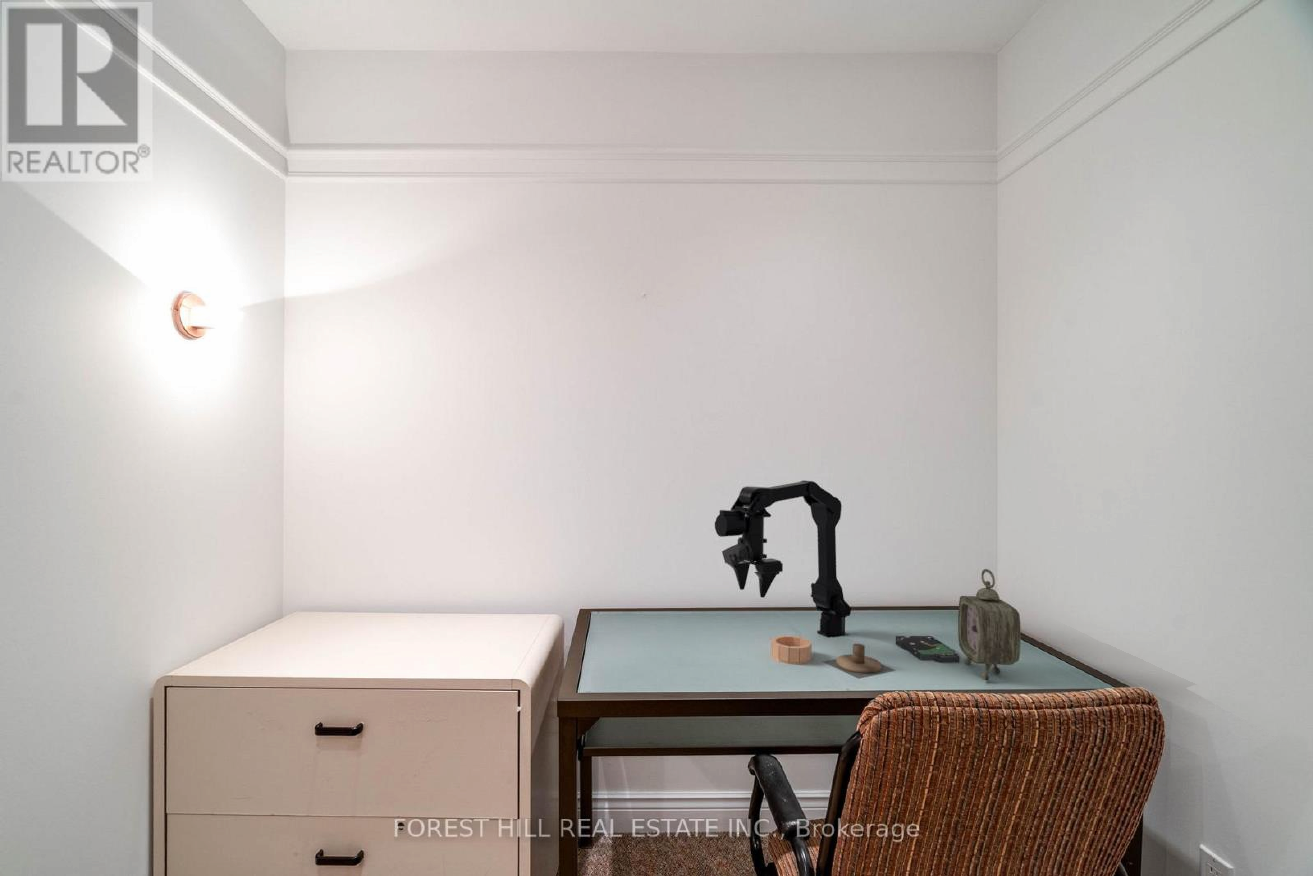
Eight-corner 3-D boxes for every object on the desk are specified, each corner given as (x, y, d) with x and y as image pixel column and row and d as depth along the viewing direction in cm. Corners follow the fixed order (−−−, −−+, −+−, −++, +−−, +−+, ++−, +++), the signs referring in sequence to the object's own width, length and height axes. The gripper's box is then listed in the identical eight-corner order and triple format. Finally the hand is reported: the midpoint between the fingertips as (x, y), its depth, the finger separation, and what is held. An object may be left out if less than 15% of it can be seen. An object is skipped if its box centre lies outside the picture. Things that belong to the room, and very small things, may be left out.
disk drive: (894, 646, 175) (921, 664, 160) (894, 635, 175) (921, 653, 160) (930, 645, 176) (960, 664, 161) (930, 635, 176) (960, 653, 161)
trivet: (858, 657, 164) (858, 654, 164) (895, 672, 153) (895, 670, 153) (822, 664, 159) (822, 661, 159) (858, 680, 148) (858, 678, 148)
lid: (858, 656, 163) (858, 636, 163) (890, 669, 154) (890, 649, 154) (827, 662, 158) (827, 642, 158) (858, 676, 149) (858, 655, 149)
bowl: (793, 650, 168) (793, 633, 168) (819, 662, 160) (819, 644, 160) (763, 656, 164) (763, 638, 164) (787, 668, 155) (788, 650, 155)
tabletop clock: (957, 662, 161) (958, 563, 161) (995, 664, 160) (996, 564, 160) (980, 684, 147) (982, 575, 147) (1022, 686, 146) (1023, 577, 146)
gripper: (708, 531, 174) (707, 588, 174) (748, 541, 157) (747, 605, 157) (742, 529, 179) (741, 584, 179) (784, 539, 162) (783, 600, 162)
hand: (752, 593), depth 169 cm, fingers open, 9 cm apart
